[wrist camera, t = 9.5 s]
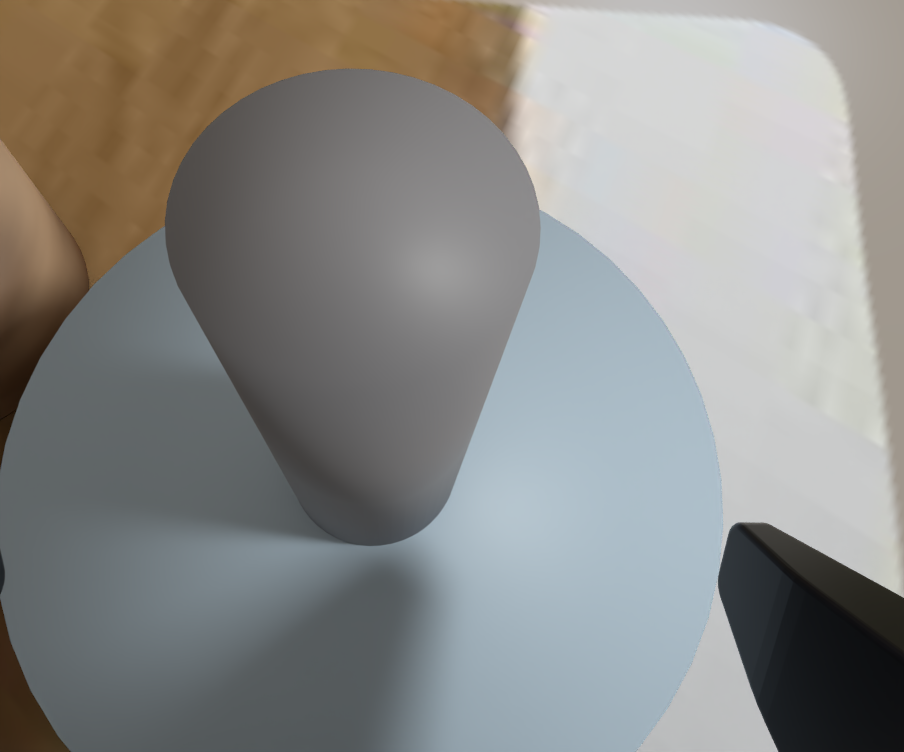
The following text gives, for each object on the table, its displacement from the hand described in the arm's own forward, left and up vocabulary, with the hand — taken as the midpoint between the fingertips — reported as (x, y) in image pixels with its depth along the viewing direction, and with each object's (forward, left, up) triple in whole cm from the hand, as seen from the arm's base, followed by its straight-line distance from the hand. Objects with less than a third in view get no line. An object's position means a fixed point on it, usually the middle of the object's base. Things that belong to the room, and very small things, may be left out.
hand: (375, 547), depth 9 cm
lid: (+2, +1, -5) cm, 5 cm away
